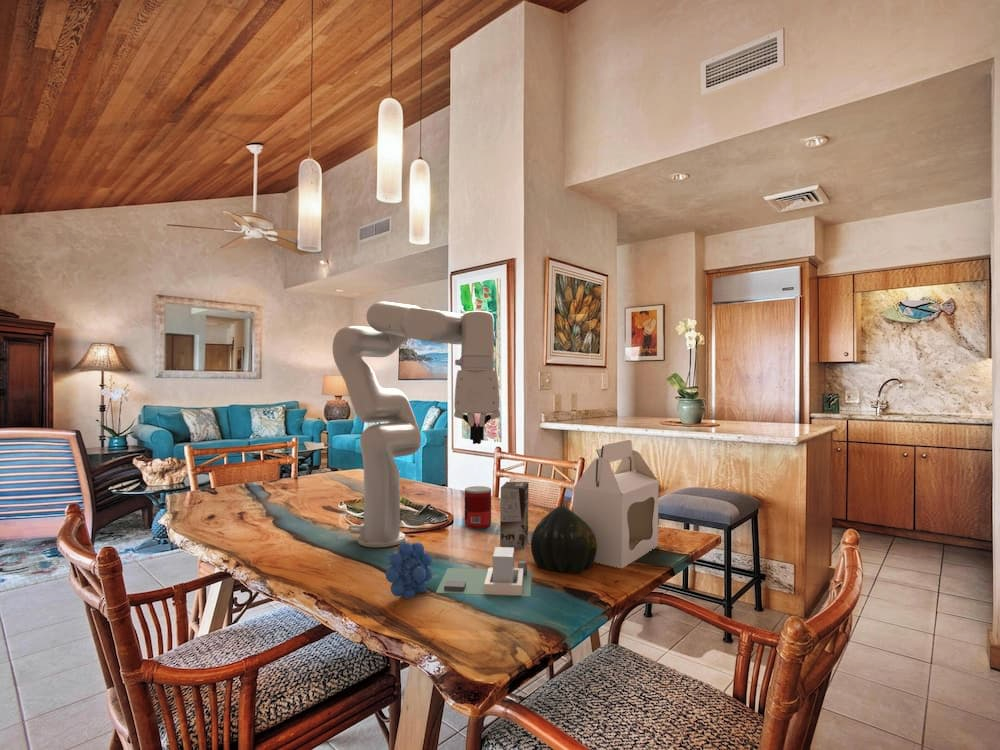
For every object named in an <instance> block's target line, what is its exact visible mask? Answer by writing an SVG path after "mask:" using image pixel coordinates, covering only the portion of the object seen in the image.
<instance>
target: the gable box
mask: <svg viewBox="0 0 1000 750" xmlns="http://www.w3.org/2000/svg"><path fill="white" fill-rule="evenodd" d="M595 451H596V454H597V455H598V457H596V458H594V459H593V460H592V461H591V462H590V464H589V465H588V467H587V468H586V470H585V471H584V472H583V474H582V475H581V477H580V478H579V479H578V481H577V482H576V484H575V485H574V486H573V490H572V491H573V495H572V496H573V497H572V499H573V501H572V502H573V504H572V505H573V507H572V508H573V511H572V512H573V513H575V514H576V515H577V516H578V517H580V518H581V519H582V520H583V521H584V522H585V523H586V524H587V525H588V526H589V527H590V528H591V530H592V531H593V533H594V535H595V538H596V543H597V550H596V556H595V559H594V562H593V563H595V562H596V563H597V564H599V563H600V565H603V566H609V567H612V566H613V567H612V568H616V567H617V569H620V568H622V569H623V568H626V567H627V566H629V565H630V564H632V563H633V562H635V561H637V560H638V559H640V558H642V557H643V556H645V555H646V554H648V553H649V551H650V552H651V551H653V550H655V549H656V548H658V547H659V480H658V479H657V477H656V476H655V475H654V473H653V472H652V470H651V468H650V467H649V466H648V464H647V463H646V461H645V459H643V457H642V455H641V453H640V452H638V451H636V450H634V449H633V441H632V440H631V439H626V440H623V441H617V442H612V443H607V444H603V445H602V446H601V448H598V449H595ZM620 460H621V461H620ZM616 461H620V463H619V464H618V466H617V468H616V470H615V473H614V472H613V470H612V469H613V468H612V467H611V465H610V463H612V462H616ZM636 541H637V542H636ZM657 546H658V547H657ZM652 549H653V550H652ZM628 564H629V565H628Z"/></svg>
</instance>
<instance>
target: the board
mask: <svg viewBox="0 0 1000 750" xmlns="http://www.w3.org/2000/svg"><path fill="white" fill-rule="evenodd" d="M517 568H523V587H522V595H501V596H502V597H503V596H506V597H507V596H509V597H531V592H532V591H531V590H532V574H533V573H532V572H533V571H532V570H528V562H527V561H525V560H520V561H518V562H517ZM488 569H489V568H488ZM488 569H486V568H485V569H484V568H457V567H456V568H455V567H451V568H450V567H447V568H446V571H445V573H444V575H443V577H442V578H441V581H440V583H439V585H438V587H437V588H436V591H435V594H452V595H453V594H455V595H475V596H476V595H480V596H482V595H483V596H496V595H495V594H484V583H485V579H486V576H487V572H488ZM492 582H493V580H492ZM514 583H517V579H514Z"/></svg>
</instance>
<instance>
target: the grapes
mask: <svg viewBox="0 0 1000 750" xmlns="http://www.w3.org/2000/svg"><path fill="white" fill-rule="evenodd" d="M424 547H425V546H424V545H423V543H421V542H420V541H415V542H413V543H410V542H409V541H404V542H402V543H400V544H399V546H398V551H397V550H395V551H392V552H391V553H390V555H388V563H389V564H390V565H391V567H389V568H387V569H386V571H385V579H386V580H387V581H388V582H389V583H390V584H391V585H390V591H391V594H392V595H393V596H395V597H402V598H403V599H410V598H414V597H415V596H416V594H421V593H425V592H426V590H427V584H426V582H427V583H428V582H430V581H431V580H432V579H433V570H432V569H431V568H430V566H431V564H432V561H433V560H432V559H433V558H432V554H430V553H429V552H427V551H425V548H424Z"/></svg>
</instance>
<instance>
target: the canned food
mask: <svg viewBox="0 0 1000 750" xmlns="http://www.w3.org/2000/svg"><path fill="white" fill-rule="evenodd" d="M491 524H492V488H491V487H488V486H482V485H476V486H468V487H465V488H464V525H465V527H466V528H469V529H475V530H476V529H478V530H479V529H486V528H489V527H490V526H491Z"/></svg>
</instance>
